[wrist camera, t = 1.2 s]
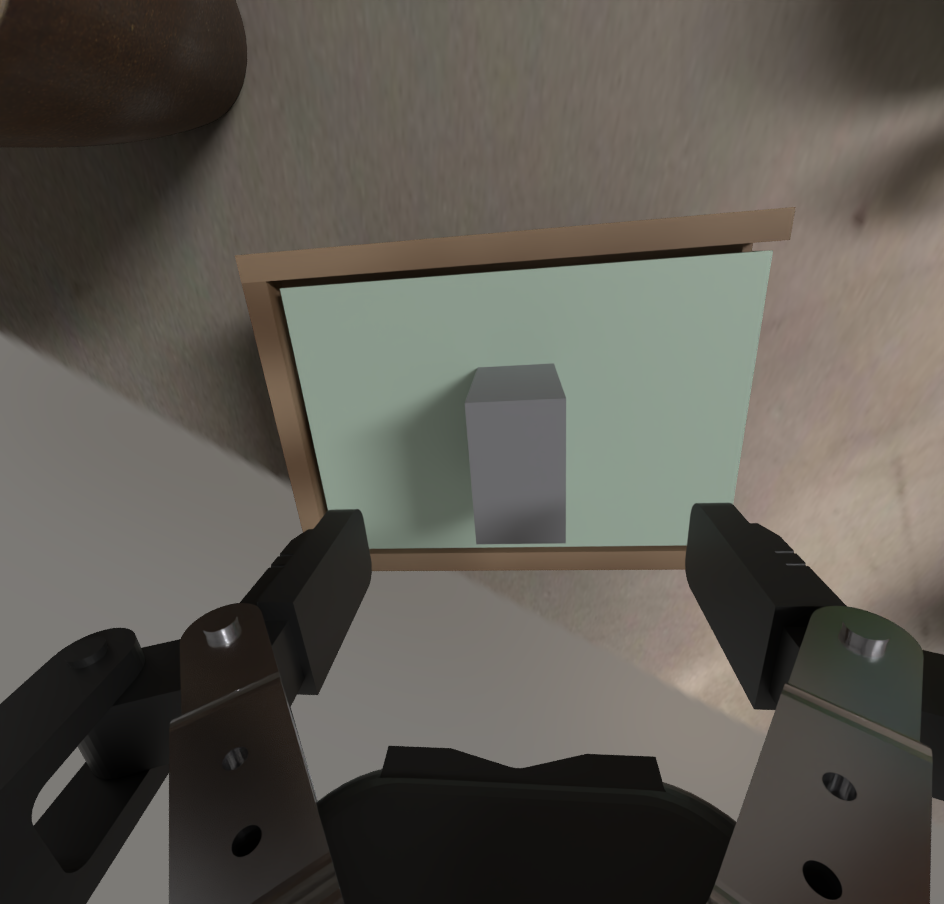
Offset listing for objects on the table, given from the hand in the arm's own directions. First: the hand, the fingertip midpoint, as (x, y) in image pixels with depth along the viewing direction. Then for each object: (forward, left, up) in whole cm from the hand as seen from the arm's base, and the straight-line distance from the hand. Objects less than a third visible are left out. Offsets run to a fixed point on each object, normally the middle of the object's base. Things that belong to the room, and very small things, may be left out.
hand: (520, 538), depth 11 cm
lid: (0, 0, -10) cm, 10 cm away
